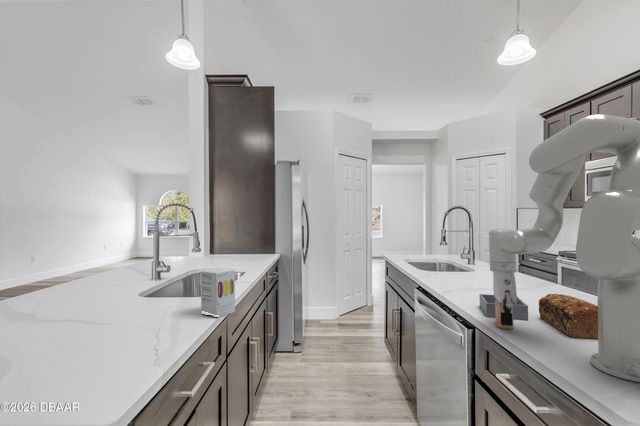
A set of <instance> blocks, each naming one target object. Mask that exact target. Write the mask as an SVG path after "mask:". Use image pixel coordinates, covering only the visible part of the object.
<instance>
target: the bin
mask: <svg viewBox="0 0 640 426" xmlns="http://www.w3.org/2000/svg"><path fill="white" fill-rule="evenodd" d="M478 295H479V308H480V309H481V311H482V313H483V314H484V316H485V317H486V318H490V319H491V318H492V319H493V318H494V319H496V315H495V300H497V299H496V298H495V297H494V294H486V293H483V294H481V293H479V294H478ZM513 320H518V321H519V320H521V321H529V305H528V304H527V303H526V302H524V301H523V300H522V299H520V298H519V296H517V304H514V303H513Z"/></svg>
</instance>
